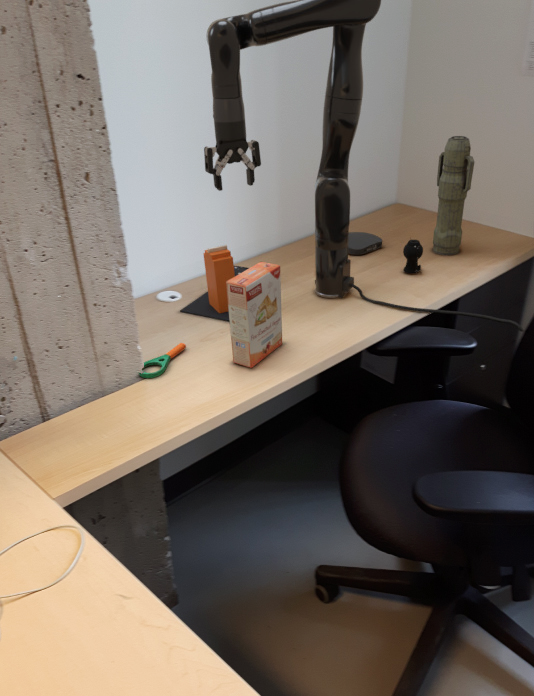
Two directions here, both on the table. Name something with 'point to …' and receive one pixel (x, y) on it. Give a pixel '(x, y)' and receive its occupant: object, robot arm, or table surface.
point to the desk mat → (205, 309)
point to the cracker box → (255, 313)
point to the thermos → (452, 194)
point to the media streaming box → (363, 243)
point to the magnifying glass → (162, 361)
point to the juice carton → (218, 276)
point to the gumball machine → (412, 256)
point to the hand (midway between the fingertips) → (235, 187)
